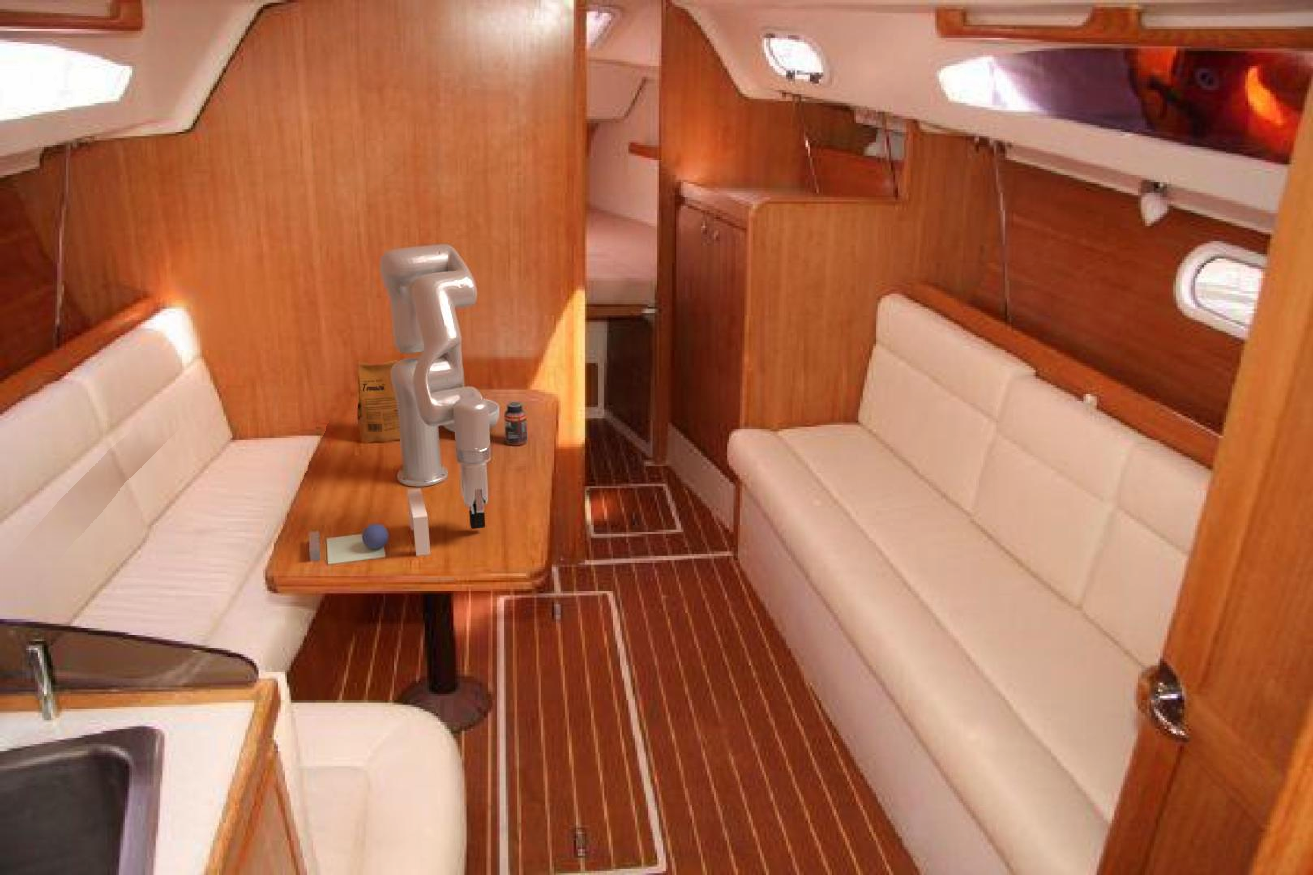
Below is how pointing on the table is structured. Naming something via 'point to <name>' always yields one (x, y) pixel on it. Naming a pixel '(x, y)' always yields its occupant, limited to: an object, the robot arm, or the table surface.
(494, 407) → the cereal bowl
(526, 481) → the table surface
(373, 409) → the coffee package
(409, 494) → the bridge
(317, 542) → the wall
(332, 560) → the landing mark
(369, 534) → the ball
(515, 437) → the supplement bottle
